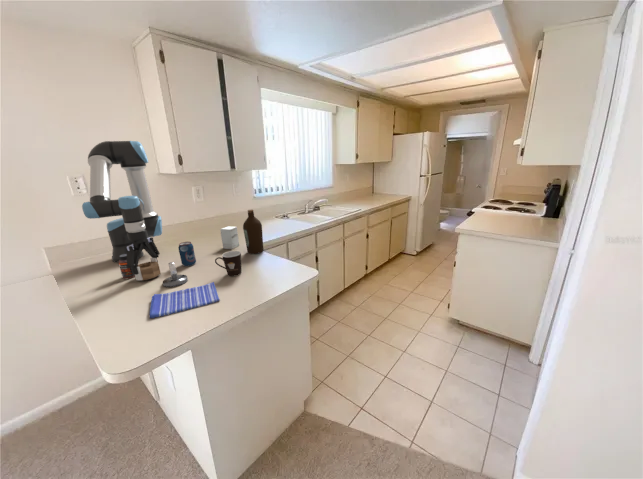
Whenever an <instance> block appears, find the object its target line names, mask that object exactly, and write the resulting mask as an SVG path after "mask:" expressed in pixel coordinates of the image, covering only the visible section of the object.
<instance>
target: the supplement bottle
mask: <svg viewBox="0 0 643 479" xmlns="http://www.w3.org/2000/svg"><path fill="white" fill-rule="evenodd" d="M119 257H120V260H119V262H117V263H118V266H119V270H120V273H121V276H122V278H123V279H125V280H128V279H133V278H136V277H135V275H134V274H133V270H132V268H127V254H123V255H120V256H119ZM134 265H135V264H134Z"/></svg>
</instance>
